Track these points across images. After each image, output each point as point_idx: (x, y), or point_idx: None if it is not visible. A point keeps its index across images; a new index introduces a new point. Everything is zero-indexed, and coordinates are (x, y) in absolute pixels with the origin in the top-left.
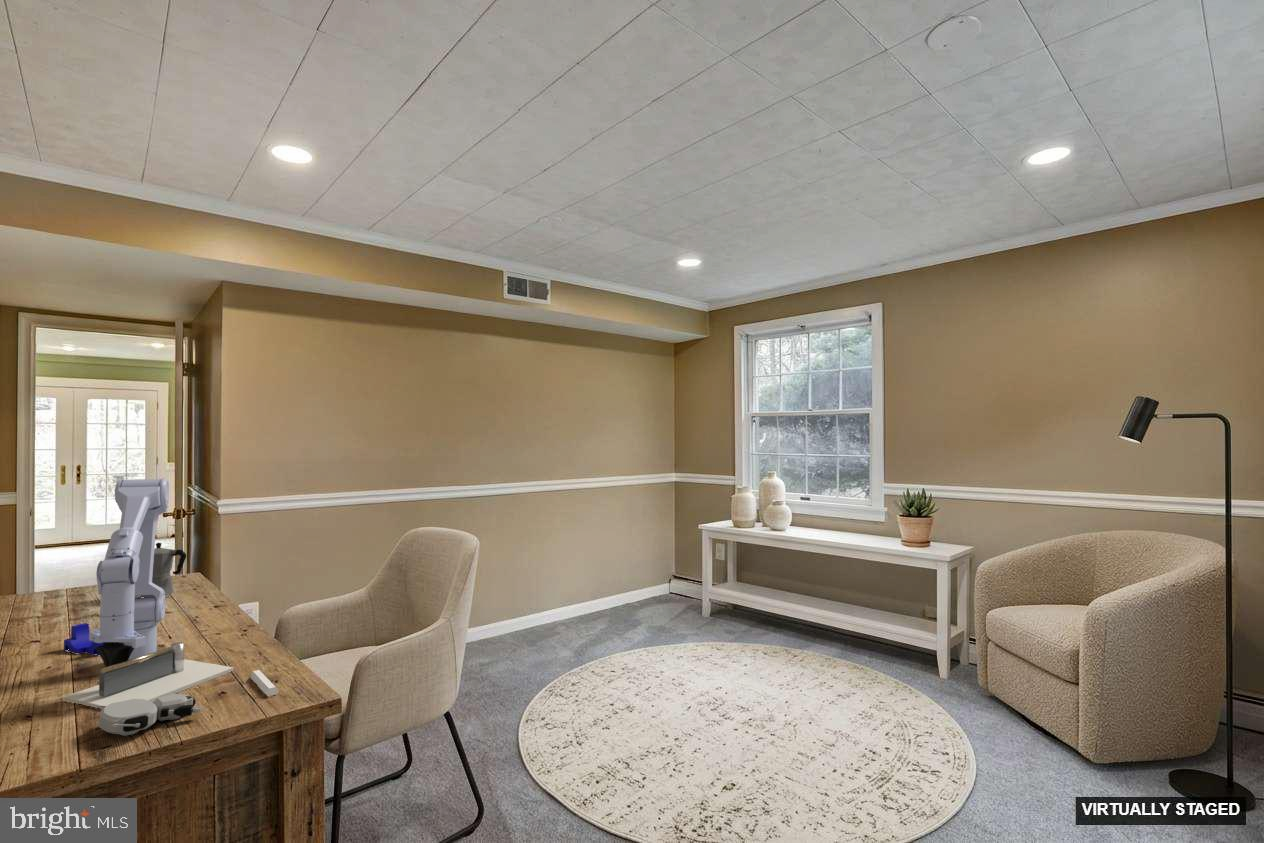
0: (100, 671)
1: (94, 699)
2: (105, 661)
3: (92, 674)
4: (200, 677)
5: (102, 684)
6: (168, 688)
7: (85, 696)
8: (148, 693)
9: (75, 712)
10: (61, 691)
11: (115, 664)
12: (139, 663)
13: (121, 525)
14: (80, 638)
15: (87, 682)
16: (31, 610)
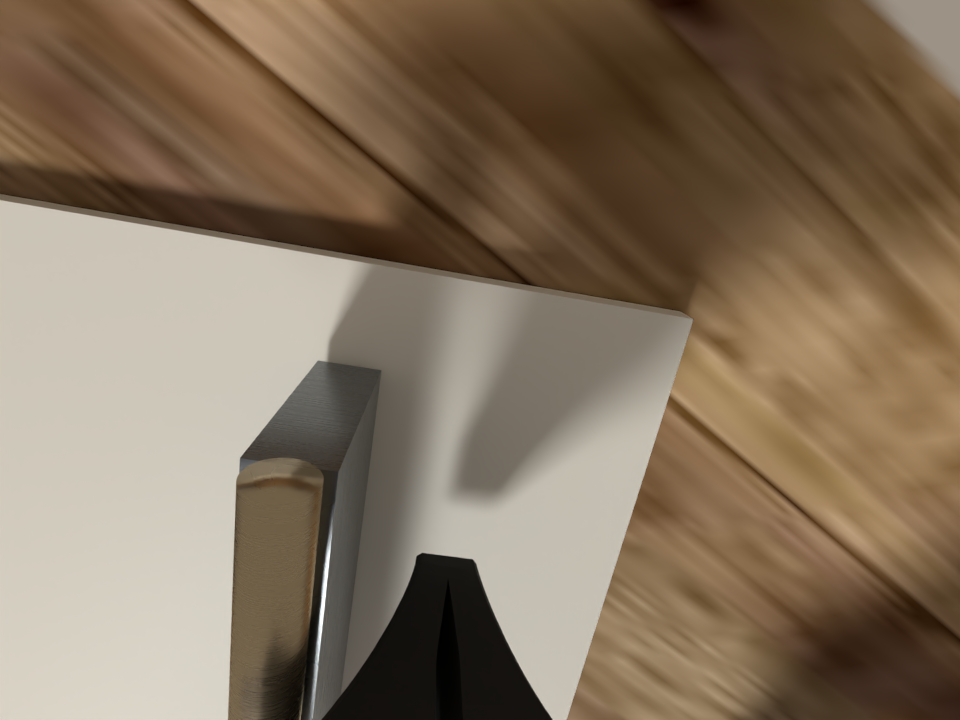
0: (314, 481)
1: (378, 325)
2: (488, 687)
3: (860, 685)
4: None
5: (311, 403)
6: (38, 582)
7: (512, 360)
8: (76, 489)
9: (359, 143)
10: (839, 450)
11: (254, 642)
12: None
13: None
14: None
15: (785, 591)
16: None
